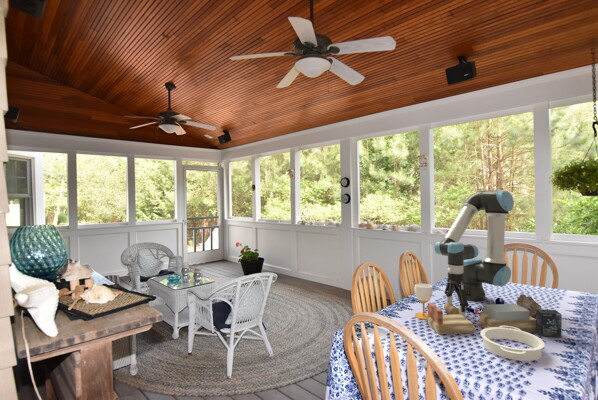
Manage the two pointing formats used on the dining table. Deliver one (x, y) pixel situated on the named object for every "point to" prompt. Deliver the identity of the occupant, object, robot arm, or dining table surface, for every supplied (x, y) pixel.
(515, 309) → the slab
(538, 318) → the box
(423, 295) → the cup
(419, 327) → the dining table surface
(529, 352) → the cream oval ring
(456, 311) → the roller
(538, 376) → the dining table surface
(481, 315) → the track
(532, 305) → the rock
